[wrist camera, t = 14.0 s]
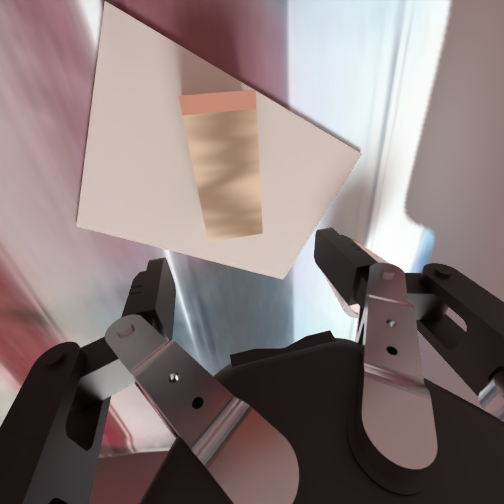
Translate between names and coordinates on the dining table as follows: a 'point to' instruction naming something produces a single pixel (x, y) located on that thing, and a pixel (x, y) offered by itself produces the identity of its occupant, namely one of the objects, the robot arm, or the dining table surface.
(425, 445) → the robot arm
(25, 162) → the dining table surface
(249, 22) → the dining table surface
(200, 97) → the birch block
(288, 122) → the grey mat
